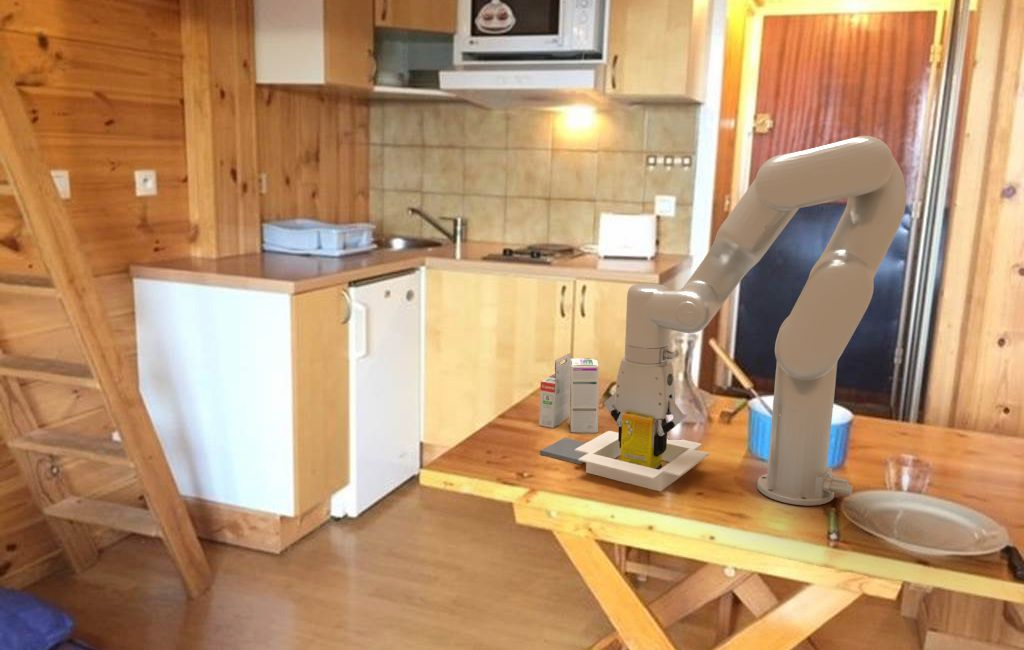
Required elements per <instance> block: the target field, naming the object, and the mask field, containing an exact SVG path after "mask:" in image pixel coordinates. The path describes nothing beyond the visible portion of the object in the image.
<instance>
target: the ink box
mask: <svg viewBox="0 0 1024 650" xmlns="http://www.w3.org/2000/svg"><path fill="white" fill-rule="evenodd" d="M571 359H572V358H571V353H570V352H569V353H567V354H565V355H563V356H561V357H560V358H558V359H555V360H554V374H551V375H549V376H547V377H546V378H544V379H542V380H541V381H540V391H539V392H540V395H539V396H540V397H539V400H540V401H539V422H538V423H539V424H538V425H539V427H545V428H551V429H554V428H556V427H558V426H560V425H561V424H562V423H564V422H565V421H566V420H568V419H570V368H571ZM563 360H565V362H563ZM562 362H563V363H562Z"/></svg>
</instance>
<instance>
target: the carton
mask: <svg viewBox="0 0 1024 650" xmlns="http://www.w3.org/2000/svg"><path fill="white" fill-rule="evenodd" d="M618 436H619V432H616V431H612V430H607V431H605V432H604V433H602V434H599V435H598V436H596V437H595V438H592V439H591V440H589V441H587V442H586V443H585V444H583V445H582V446H580V447H578V448H576V449H575V450H574V451H577V452H581V453H585V454H586V455H584V456H582V457H581V458H579V459H578V461H582V462H585V466H586V467H585V469H586V470H585V473H586V474H590V475H595V476H597V477H602V478H606V479H610V480H613V481H617V482H621V483H625V484H629V485H633V486H638V487H641V488H645V489H649V490H653V491H657V492H662V491H664V490H665V489H666V488H667V487H669V486H670V485H672V483H674V482H676V481H677V480H678V479H680V478H681V477H683V476H684V475H685V474H686V473H687V472H689V471H690V470H691V469H693V468H695V466H696V465H697V464H699V463H700V462H701V461H703V460H704V459H705V458H706V457H708V456H710V452H707V451H702V450H698V449H699V448H700V447H702V446H703V444H702V443H699V442H696V441H692V440H691V441H690V440H687V439H682V440H668V439H667V446H666V450H665V451H664V453H662V462H663V461H664V462H667V464H665V465H664V466H662V467H661V468H660V469H659V470H658V469H653V468H649V467H645V466H641V465H637V464H633V463H629V462H625V461H621V459H616V458H617V457H619V456H621V448H620V442H619V441H618Z"/></svg>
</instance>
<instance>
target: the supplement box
mask: <svg viewBox="0 0 1024 650" xmlns="http://www.w3.org/2000/svg"><path fill="white" fill-rule="evenodd" d="M656 434H657V430H656V427H655V420H654V419H653V418H650V417H646V416H641V415H636V414H631V413H623V414H622V437H621V455H620V461H625V462H629V463H633V464H637V465H641V466H645V467H649V468H653V469H658V470H660V469H661V468H663V460H662V454H661V455H659V456H658V457H656V456H654V436H655V435H656Z"/></svg>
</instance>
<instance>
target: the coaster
mask: <svg viewBox="0 0 1024 650" xmlns="http://www.w3.org/2000/svg"><path fill="white" fill-rule="evenodd" d="M585 443H587V442H585V441H580V440H576V439H573V438H569V437H563V438H561V439H559V440H557V441H555V442H553V443H552V444H550V445H548V446H546V447H544V448H542V449H540V451H539V455H541V456H545V457H549V458H553V459H557V460H561V461H565V462H570V463H573V464H577V465H583V464H584V463H585V464H586V462H582V461H578V459H579V458H581V457H582V456H584V455H586V454H585V453H581V452H577V451H574V450H575V449H576V448H578V447H580V446H582V445H583V444H585Z"/></svg>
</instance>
